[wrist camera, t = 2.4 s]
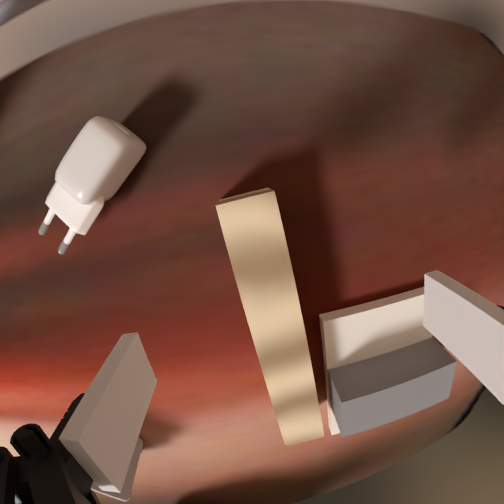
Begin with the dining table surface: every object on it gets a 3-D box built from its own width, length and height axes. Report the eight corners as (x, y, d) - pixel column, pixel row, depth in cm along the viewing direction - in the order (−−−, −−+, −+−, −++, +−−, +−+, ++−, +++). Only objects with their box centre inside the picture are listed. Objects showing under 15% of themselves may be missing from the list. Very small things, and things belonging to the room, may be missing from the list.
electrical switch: (145, 437, 31) (129, 497, 23) (143, 455, 33) (129, 509, 24) (77, 412, 30) (51, 465, 22) (80, 432, 32) (58, 482, 23)
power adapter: (86, 251, 25) (54, 271, 20) (52, 219, 24) (15, 231, 19) (157, 150, 24) (134, 145, 18) (117, 118, 23) (86, 106, 17)
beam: (220, 199, 25) (215, 205, 20) (267, 187, 25) (274, 190, 20) (279, 414, 31) (285, 445, 26) (314, 405, 31) (324, 436, 26)
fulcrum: (318, 314, 28) (339, 351, 21) (427, 285, 28) (464, 310, 21) (328, 426, 32) (342, 466, 26) (417, 398, 32) (439, 430, 25)
